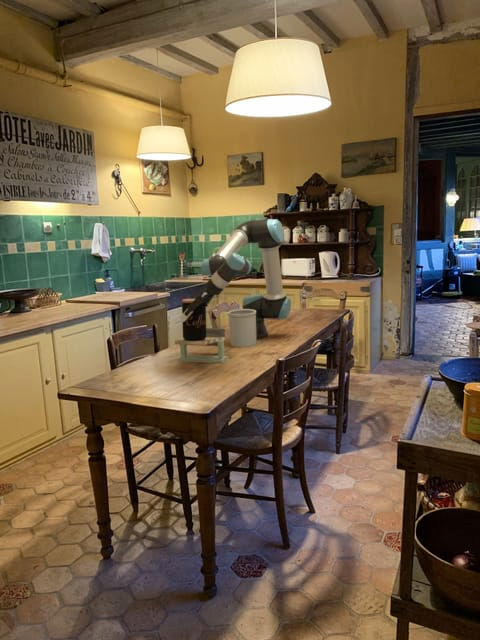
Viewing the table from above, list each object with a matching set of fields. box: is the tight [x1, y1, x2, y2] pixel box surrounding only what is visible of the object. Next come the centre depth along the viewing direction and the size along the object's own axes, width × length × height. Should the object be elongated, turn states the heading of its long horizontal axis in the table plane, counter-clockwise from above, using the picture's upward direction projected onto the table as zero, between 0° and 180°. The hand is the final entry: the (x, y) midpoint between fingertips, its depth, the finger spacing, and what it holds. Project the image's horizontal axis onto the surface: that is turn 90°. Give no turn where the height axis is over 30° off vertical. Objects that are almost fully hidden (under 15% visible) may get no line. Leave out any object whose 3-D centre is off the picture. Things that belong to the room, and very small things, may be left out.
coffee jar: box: [181, 298, 207, 341], centre depth 223 cm, size 11×11×18 cm
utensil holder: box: [227, 308, 257, 348], centre depth 258 cm, size 15×15×18 cm
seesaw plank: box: [174, 327, 226, 347], centre depth 231 cm, size 27×16×7 cm, turn 162°
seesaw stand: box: [177, 338, 228, 364], centre depth 233 cm, size 8×22×10 cm, turn 72°
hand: (188, 316), depth 223 cm, fingers open, 13 cm apart
